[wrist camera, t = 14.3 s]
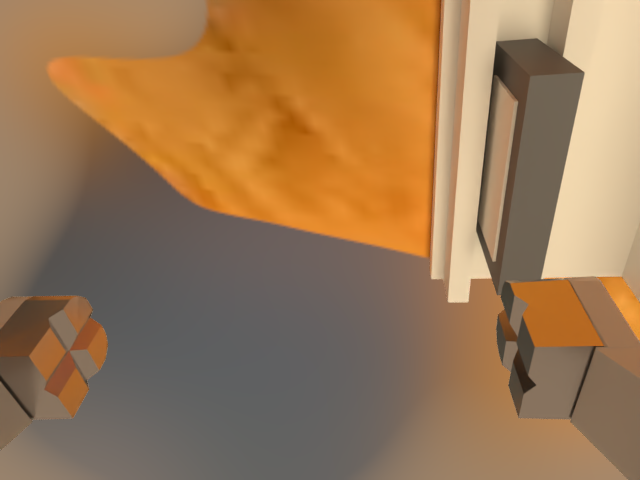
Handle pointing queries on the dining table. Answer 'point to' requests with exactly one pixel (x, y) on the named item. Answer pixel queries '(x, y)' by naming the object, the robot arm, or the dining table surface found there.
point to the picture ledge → (585, 145)
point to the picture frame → (524, 156)
